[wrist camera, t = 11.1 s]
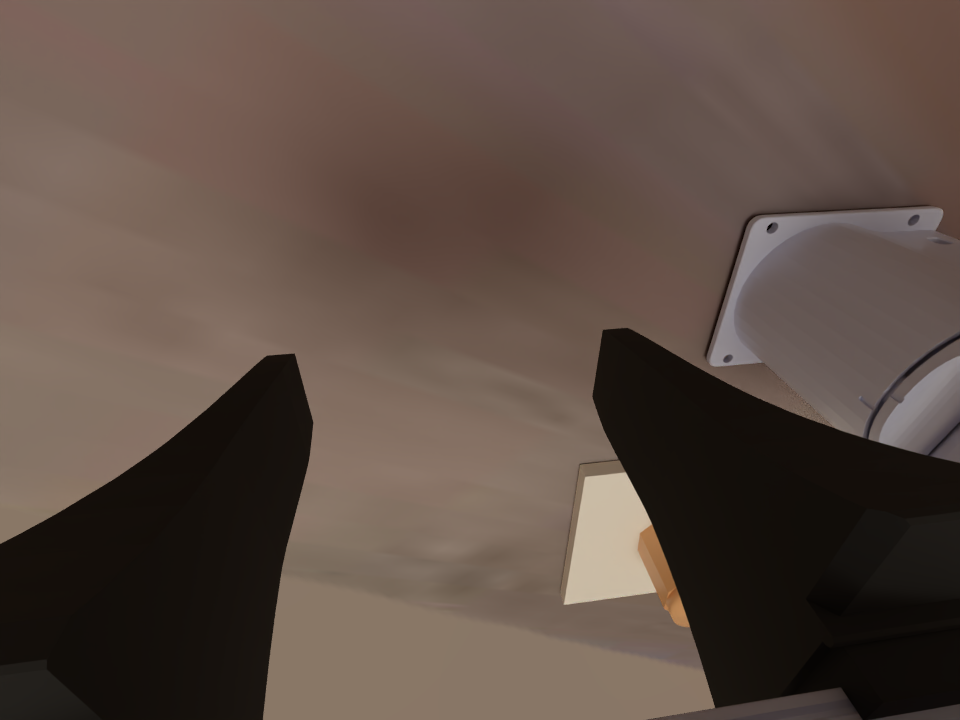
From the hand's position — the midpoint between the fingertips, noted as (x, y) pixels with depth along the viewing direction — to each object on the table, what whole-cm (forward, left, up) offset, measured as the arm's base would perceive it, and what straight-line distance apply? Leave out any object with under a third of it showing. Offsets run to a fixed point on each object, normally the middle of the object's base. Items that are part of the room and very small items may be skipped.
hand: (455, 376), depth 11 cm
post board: (-15, +22, -10) cm, 29 cm away
